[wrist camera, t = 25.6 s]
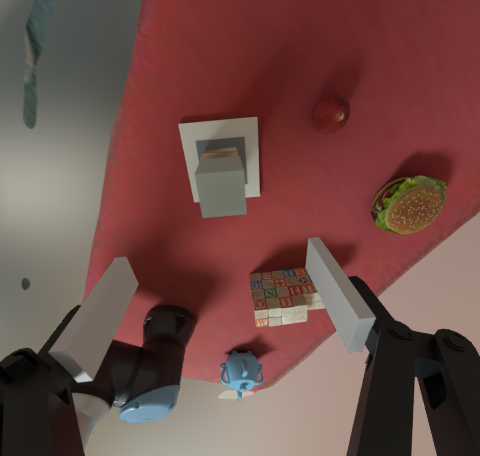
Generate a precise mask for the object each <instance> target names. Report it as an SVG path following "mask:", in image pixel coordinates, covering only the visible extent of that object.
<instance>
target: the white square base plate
mask: <svg viewBox="0 0 480 456" xmlns="http://www.w3.org/2000/svg"><path fill="white" fill-rule="evenodd" d="M178 126H179V130H180V135H181V140H182V145H183V150H184V155H185V160H186V164H187V169H188V174H189V179H190V184H191V189H192V194H193V199H194V203H195V202H200V201H199V196H198V190H197V185H196V179H195V172H196V170H197V168H198V165H199V163H200V158H201V156H202V154H203V151H204V150H210V149H220V148H230V147H236V148H237V152H238V156H240V158H241V162H242V165H243V168H244V179H245V195H246V197H257V196H260V185H259V152H258V120H257V117H247V118H236V119H225V120H214V121H203V122H192V123H181V124H178Z"/></svg>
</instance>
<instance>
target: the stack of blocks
mask: <svg viewBox="0 0 480 456" xmlns="http://www.w3.org/2000/svg"><path fill="white" fill-rule="evenodd" d="M249 275H250V283H251V292H252V300H253V308H254V316H255V321H256V327H263V326H277V325H284V324H291V323H298V322H306V321H307V310H312V309H322V308H325V306H324V304H323V302H322V300H321V298H320V296H319V294H318V292H317V290H316V288H315V286H314V284H313V281H312V279H311V277H310V275H309V273H308V271H307V269H306V267H305V268H295V269H288V270H280V271H272V272H271V271H270V272H261V273H252V274H249Z"/></svg>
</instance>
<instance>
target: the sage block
mask: <svg viewBox="0 0 480 456" xmlns="http://www.w3.org/2000/svg"><path fill="white" fill-rule="evenodd" d="M195 179H196V185H197V190H198V196H199V201H200V207H201V212H202V218H209V217H220V216H231V215H242V214H247V212H246V195H245V179H244V168H243V165H242V162H241V158H240V156H234V157H222V158H211V159H201V160H200V163H199V165H198V168H197V170H196V172H195Z"/></svg>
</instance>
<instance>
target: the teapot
mask: <svg viewBox="0 0 480 456" xmlns="http://www.w3.org/2000/svg"><path fill="white" fill-rule="evenodd" d="M222 366H224V368H223V367H222ZM259 367H260V368H259ZM220 368H221V369H222V370H223V371H222V374H221V382H222V383H223V384H224V385H229V386H230V388H231V389H232V390H237V394H238V401H241V395H242V392H245V391H247V390H250V389H252V388H253V387H254V385H260V384H261V383H262V382H263V375H262V373H261V371H260V370H262V365H261V364H260V363H258V360H257V358H256V357H255V356H254V355H253V354H252V351H247V352H246V353H238V352H237V351H232V354H231V355H230V356H229V357H228V359H227V360H226V363H222V364H221V365H220ZM224 372H225V374H226V379H227V382H226V381H224V380H223V375H224ZM258 373H259V375H260V378H261V381H259V382H257V381H256V378H257V374H258Z"/></svg>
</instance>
